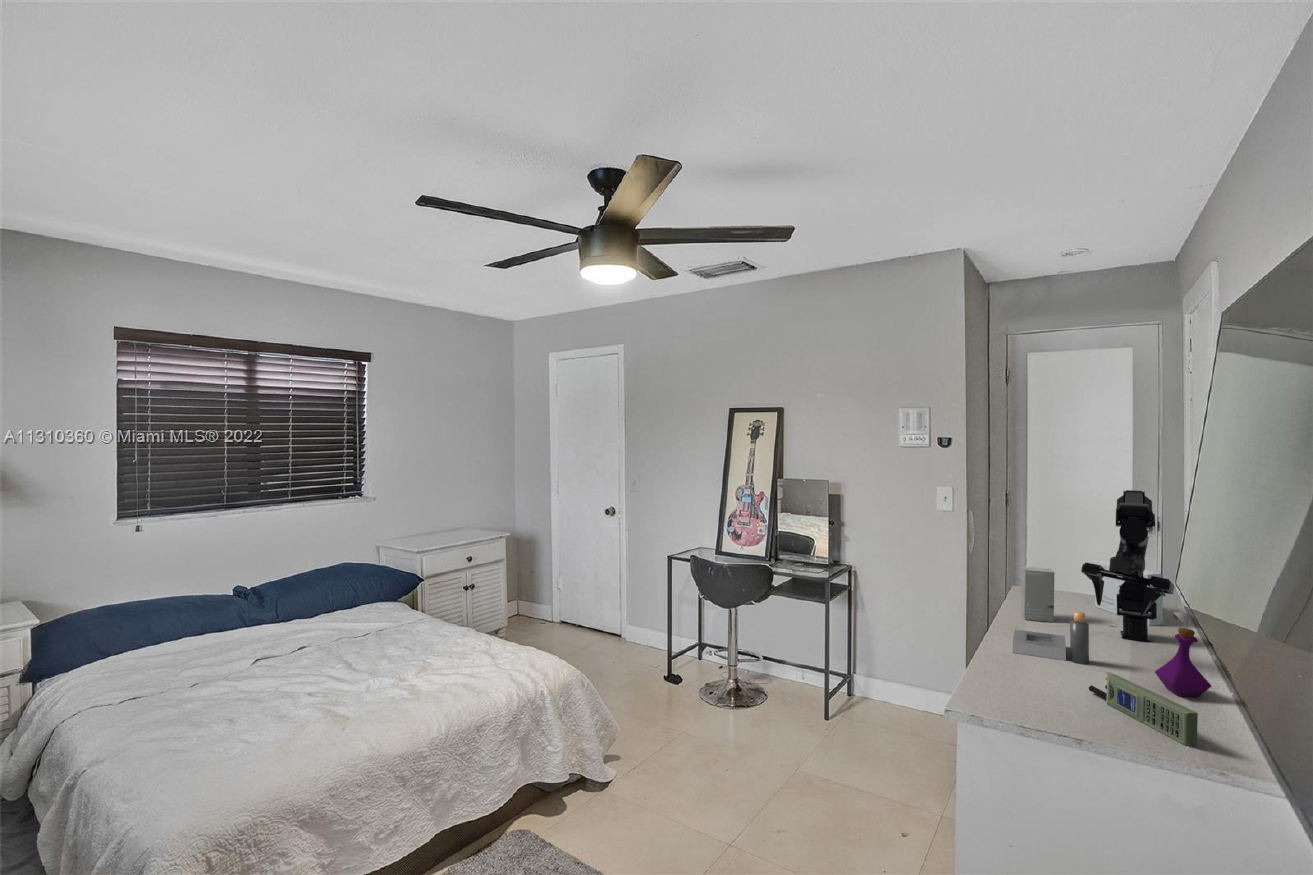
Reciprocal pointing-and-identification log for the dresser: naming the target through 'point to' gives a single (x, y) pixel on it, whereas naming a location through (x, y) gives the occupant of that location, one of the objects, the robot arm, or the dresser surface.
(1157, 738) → the dresser surface
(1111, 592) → the skincare box
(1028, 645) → the socket plate
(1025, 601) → the skincare box
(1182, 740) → the handheld radio
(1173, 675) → the perfume bottle
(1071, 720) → the dresser surface
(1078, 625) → the plug
